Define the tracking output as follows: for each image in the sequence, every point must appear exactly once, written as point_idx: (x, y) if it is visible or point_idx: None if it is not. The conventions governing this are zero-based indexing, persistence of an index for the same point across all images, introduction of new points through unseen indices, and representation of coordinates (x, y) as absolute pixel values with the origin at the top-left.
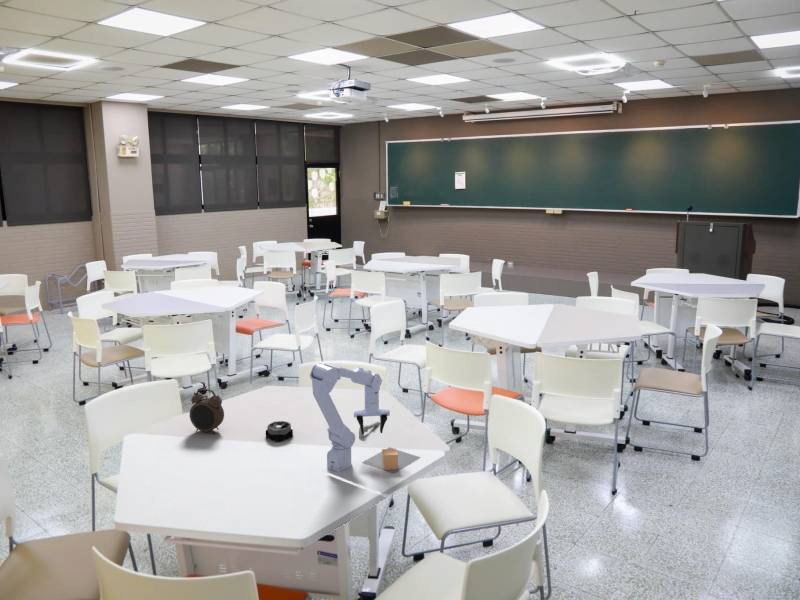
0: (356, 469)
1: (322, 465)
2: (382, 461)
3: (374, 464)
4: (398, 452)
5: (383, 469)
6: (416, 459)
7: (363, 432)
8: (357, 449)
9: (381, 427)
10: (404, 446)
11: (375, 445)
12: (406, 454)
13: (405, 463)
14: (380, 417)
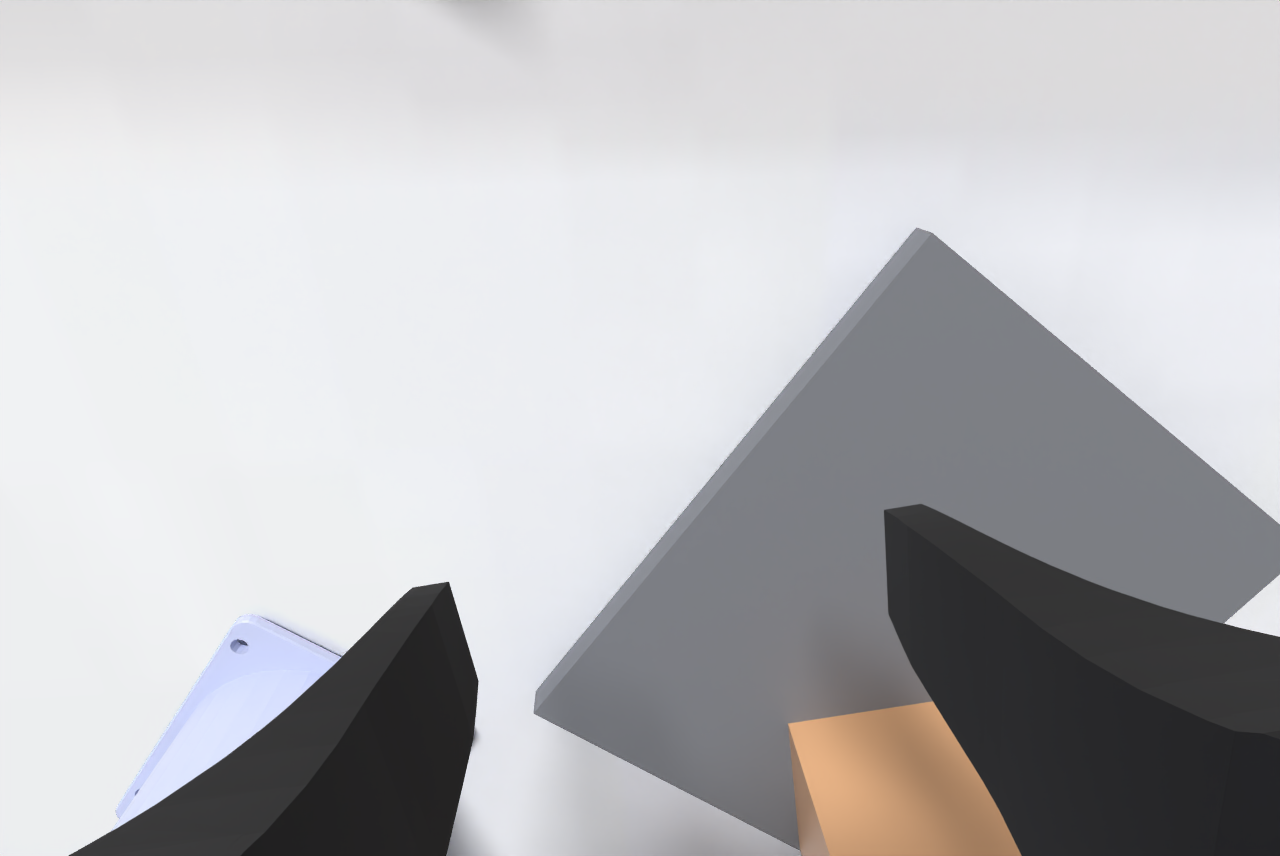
0: (490, 785)
1: (48, 729)
2: (805, 809)
3: (696, 746)
4: (1043, 417)
5: (800, 849)
6: (1233, 603)
7: (472, 725)
8: (393, 240)
9: (979, 756)
10: (1180, 90)
11: (685, 57)
12: (1143, 474)
13: None
14: (1148, 814)
